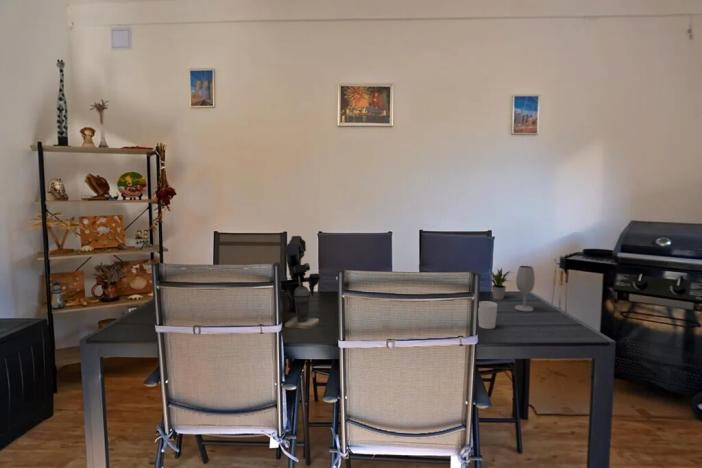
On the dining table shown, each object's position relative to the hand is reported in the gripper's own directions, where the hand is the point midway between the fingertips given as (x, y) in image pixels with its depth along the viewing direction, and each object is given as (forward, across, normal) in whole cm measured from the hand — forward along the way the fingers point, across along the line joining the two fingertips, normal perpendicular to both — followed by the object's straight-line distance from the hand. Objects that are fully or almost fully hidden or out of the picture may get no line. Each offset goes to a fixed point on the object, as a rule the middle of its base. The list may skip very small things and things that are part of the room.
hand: (302, 297), depth 192 cm
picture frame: (+8, 0, +10) cm, 13 cm away
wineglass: (+25, +104, -7) cm, 107 cm away
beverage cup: (+7, 0, +9) cm, 11 cm away
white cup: (+33, +71, -15) cm, 80 cm away
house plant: (+11, +108, +8) cm, 108 cm away
